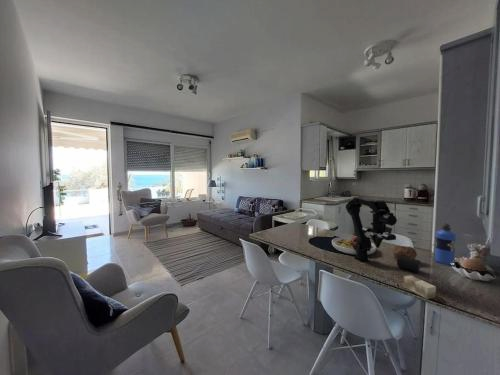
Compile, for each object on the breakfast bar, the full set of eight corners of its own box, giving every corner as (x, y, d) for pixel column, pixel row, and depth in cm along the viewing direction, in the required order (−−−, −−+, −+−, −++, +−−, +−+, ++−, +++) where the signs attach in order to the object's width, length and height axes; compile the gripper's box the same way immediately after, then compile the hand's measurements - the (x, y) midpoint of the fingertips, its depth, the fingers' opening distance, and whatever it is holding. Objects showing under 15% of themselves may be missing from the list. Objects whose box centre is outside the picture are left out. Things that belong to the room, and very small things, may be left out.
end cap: (396, 268, 123) (397, 257, 123) (400, 265, 127) (401, 254, 127) (417, 275, 115) (418, 263, 115) (421, 271, 119) (421, 259, 119)
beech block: (402, 276, 104) (427, 288, 92) (410, 274, 105) (435, 286, 93) (402, 285, 104) (427, 299, 93) (409, 284, 105) (435, 297, 94)
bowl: (373, 260, 135) (373, 249, 135) (326, 251, 153) (326, 240, 153) (378, 247, 159) (378, 237, 159) (337, 240, 177) (337, 231, 177)
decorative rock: (415, 259, 135) (416, 245, 135) (417, 266, 126) (418, 250, 125) (391, 255, 143) (391, 241, 142) (391, 261, 133) (392, 246, 133)
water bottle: (431, 260, 134) (432, 222, 132) (439, 258, 137) (441, 221, 136) (449, 266, 125) (451, 226, 124) (458, 264, 128) (460, 224, 127)
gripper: (404, 224, 114) (403, 251, 115) (375, 217, 132) (375, 241, 133) (388, 225, 111) (387, 253, 112) (361, 218, 129) (361, 243, 130)
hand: (377, 247), depth 122 cm, fingers closed
